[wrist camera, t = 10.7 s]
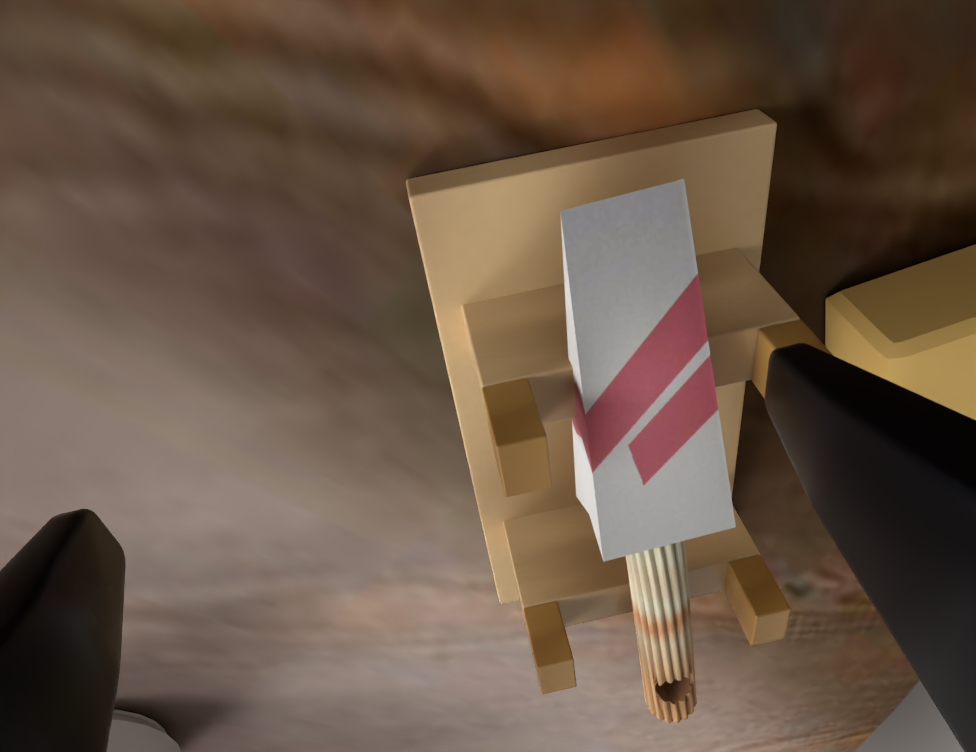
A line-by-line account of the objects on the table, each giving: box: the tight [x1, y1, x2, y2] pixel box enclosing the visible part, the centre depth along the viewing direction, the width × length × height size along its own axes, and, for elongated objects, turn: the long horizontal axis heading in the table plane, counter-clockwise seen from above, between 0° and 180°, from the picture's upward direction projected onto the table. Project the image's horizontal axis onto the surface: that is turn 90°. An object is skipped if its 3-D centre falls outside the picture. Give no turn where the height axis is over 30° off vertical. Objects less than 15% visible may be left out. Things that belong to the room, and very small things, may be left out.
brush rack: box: [406, 109, 834, 694], centre depth 23 cm, size 10×19×7 cm, turn 8°
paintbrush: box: [560, 179, 736, 723], centre depth 21 cm, size 4×3×20 cm
